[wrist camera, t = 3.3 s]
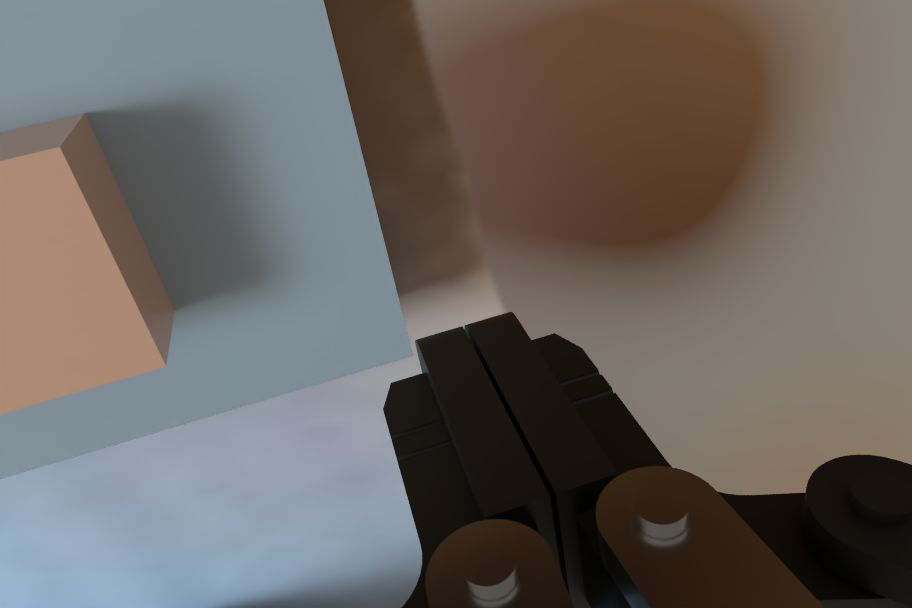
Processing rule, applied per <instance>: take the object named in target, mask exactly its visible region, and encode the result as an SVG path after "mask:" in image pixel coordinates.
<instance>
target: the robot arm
mask: <svg viewBox="0 0 912 608" xmlns="http://www.w3.org/2000/svg"><path fill="white" fill-rule="evenodd" d="M415 343H416V348H417V352H418V357H419V361H420V365H421V369H422V373H423V374H419V375H416V376H413V377H409V378H406V379H403V380H399V381H396V382H393V383H391V385H390V388H389V392H388V395H387V398H386V402H385V405H384V408H383V410H384V414H385V418H386V421H387V425H388V428H389V432H390V436H391V439H392V443H393V446H394V450H395V454H396V457H397V461H398V464H399V468H400V472H401V475H402V479H403V482H404V486H405V490H406V493H407V497H408V500H409V504H410V508H411V511H412V515H413V518H414V522H415V525H416V529H417V533H418V536H419V540H420V543H421V549H422V568H421V574H420V577H419V580H418V582H417V585H416V587H415V589H414V591H413V593H412V595H411V596H410V597H409V599H408V600H407V602H406V603H405V604H404V606H403V607H402V608H912V465H911V464H908V463H904V462H901V461H897V460H894V459H890V458H885V457H880V456H872V455H849V456H843V457H839V458H835V459H833V460H830V461H828V462H826V463H824V464H822V465H821V466H819V467H818V468H817V469H816V470H815V471H814V472H813V473H812V475H811V477H810V478H809V480H808V484H807V487H806V493H790V494H769V495H732V494H725V493H721V492H717V491H716V490H715V489H714V488H713V487H712V486H710V485H709V483H707V482H706V481H704V480H703V479H701V478H700V477H698V476H696V475H693V474H692V473H689V472H687V471H684V470H681V469H677V468H672V467H671V465H670V464H669V463H668V462H667V461H666V460H665V458H664V457H663V456H662V454H661V453H660V452H659V450H658V449H657V448H656V446H655V445H654V444H653V442H652V441H651V440H650V438H649V437H648V436H647V434H646V433H645V432H644V430H643V429H642V428H641V426H640V425H639V424H638V422H637V421H636V420H635V418H634V417H633V416H632V414H631V413H630V412H629V411H628V409H627V408H626V406H625V405H624V404H623V402H622V401H621V400H620V398H619V397H618V396H617V394H616V393H613V391H612V388H611V386H610V385H609V384H608V382H607V381H606V380H605V378H604V377H603V376H602V375H600V374H599V371H598V369H597V368H596V366H595V365H594V364H593V362H592V361H591V360H590V359H589V357H588V356H587V354H586V353H585V352H584V351H583V349H582V348H580V347H579V346H577V345H575V344H573V343H571V342H570V341H568V340H566V339H564V338H562V337H560V336H559V335H557V334H555V333H554V334H551V335H548V336H545V337H541V338H538V339H534V340H531V339H530V338H529V336H528V335H527V333H526V331H525V330H524V328H523V327H522V325H521V324H520V322H519V321H518V319H517V318H516V316H515V315H514V313H512V312H508V313H505V314H502V315H498V316H495V317H491V318H488V319H485V320H481V321H478V322H475V323H471V324H468V325H465V330H464V328H463V327H458V328H455V329H452V330H448V331H445V332H441V333H438V334H435V335H431V336H428V337H424V338H421V339H418V340H415Z"/></svg>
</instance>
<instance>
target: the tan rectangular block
mask: <svg viewBox="0 0 912 608" xmlns="http://www.w3.org/2000/svg"><path fill="white" fill-rule="evenodd" d="M174 314H175V310H174V308H173V305H172V303H171V301H170V299H169V297H168V294H167V292H166V290H165V288H164V285H163V283H162V281H161V279H160V277H159V274H158V272H157V270H156V268H155V266H154V263H153V261H152V259H151V257H150V255H149V252H148V250H147V248H146V246H145V244H144V241H143V239H142V237H141V235H140V233H139V230H138V228H137V226H136V224H135V221H134V219H133V217H132V215H131V213H130V210H129V208H128V206H127V204H126V202H125V199H124V197H123V195H122V193H121V191H120V188H119V186H118V184H117V182H116V180H115V177H114V175H113V173H112V171H111V169H110V166H109V164H108V162H107V160H106V157H105V155H104V153H103V151H102V149H101V146H100V144H99V142H98V140H97V138H96V135H95V133H94V131H93V129H92V127H91V124H90V122H89V120H88V118H87V116H86V113H81V114H77V115H73V116H68V117H64V118H60V119H56V120H51V121H47V122H43V123H39V124H34V125H30V126H26V127H22V128H18V129H13V130H9V131H5V132H1V133H0V414H2V413H6V412H9V411H13V410H16V409H20V408H23V407H27V406H30V405H33V404H37V403H40V402H44V401H47V400H51V399H54V398H58V397H61V396H65V395H68V394H72V393H75V392H79V391H82V390H86V389H89V388H93V387H96V386H100V385H103V384H107V383H110V382H114V381H117V380H120V379H124V378H127V377H131V376H134V375H138V374H141V373H145V372H148V371H152V370H155V369H159V368H162V367H166V364H167V358H168V352H169V345H170V339H171V333H172V326H173V320H174Z"/></svg>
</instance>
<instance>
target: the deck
mask: <svg viewBox="0 0 912 608" xmlns="http://www.w3.org/2000/svg"><path fill="white" fill-rule="evenodd" d="M81 113H86V116H87V118H88V120H89V122H90V124H91V127H92V129H93V131H94V133H95V135H96V138H97V140H98V142H99V144H100V146H101V149H102V151H103V153H104V155H105V157H106V160H107V162H108V164H109V166H110V169H111V171H112V173H113V175H114V177H115V180H116V182H117V184H118V186H119V188H120V191H121V193H122V195H123V197H124V199H125V202H126V204H127V206H128V208H129V210H130V213H131V215H132V217H133V219H134V221H135V224H136V226H137V228H138V230H139V233H140V235H141V237H142V239H143V241H144V244H145V246H146V248H147V250H148V252H149V255H150V257H151V259H152V261H153V263H154V266H155V268H156V270H157V272H158V274H159V277H160V279H161V281H162V283H163V285H164V288H165V290H166V292H167V294H168V297H169V299H170V301H171V303H172V305H173V308H174V310H175V314H174V320H173V326H172V333H171V339H170V345H169V352H168V358H167V364H166V367H162V368H159V369H155V370H152V371H148V372H145V373H141V374H138V375H134V376H131V377H127V378H124V379H120V380H117V381H114V382H110V383H107V384H103V385H100V386H96V387H93V388H89V389H86V390H82V391H79V392H75V393H72V394H68V395H65V396H61V397H58V398H54V399H51V400H47V401H44V402H40V403H37V404H33V405H30V406H27V407H23V408H20V409H16V410H13V411H9V412H6V413H2V414H0V479H2V478H5V477H9V476H12V475H16V474H19V473H22V472H26V471H29V470H32V469H36V468H39V467H42V466H46V465H49V464H52V463H56V462H59V461H62V460H66V459H69V458H72V457H76V456H79V455H82V454H86V453H89V452H92V451H96V450H99V449H102V448H106V447H109V446H112V445H116V444H119V443H122V442H126V441H129V440H133V439H136V438H139V437H143V436H146V435H149V434H153V433H156V432H159V431H163V430H166V429H169V428H173V427H176V426H179V425H183V424H186V423H189V422H193V421H196V420H199V419H203V418H206V417H209V416H213V415H216V414H219V413H223V412H226V411H229V410H233V409H236V408H240V407H243V406H246V405H250V404H253V403H256V402H260V401H263V400H266V399H270V398H273V397H276V396H280V395H283V394H286V393H290V392H293V391H296V390H300V389H303V388H306V387H310V386H313V385H316V384H320V383H323V382H326V381H330V380H333V379H336V378H340V377H343V376H346V375H350V374H353V373H357V372H360V371H363V370H367V369H370V368H373V367H377V366H380V365H383V364H387V363H390V362H393V361H397V360H400V359H403V358H407V357H410V356H413V353H412V349H411V345H410V341H409V337H408V333H407V329H406V325H405V321H404V317H403V313H402V309H401V306H400V302H399V298H398V294H397V290H396V286H395V282H394V278H393V274H392V270H391V266H390V262H389V258H388V254H387V250H386V246H385V242H384V238H383V234H382V230H381V226H380V222H379V218H378V214H377V210H376V206H375V202H374V198H373V194H372V191H371V187H370V183H369V179H368V175H367V171H366V167H365V163H364V159H363V155H362V151H361V147H360V143H359V139H358V135H357V131H356V127H355V123H354V119H353V115H352V111H351V107H350V103H349V99H348V95H347V91H346V87H345V83H344V80H343V76H342V72H341V68H340V64H339V60H338V56H337V52H336V48H335V44H334V40H333V36H332V32H331V28H330V24H329V20H328V16H327V12H326V8H325V4H324V0H0V133H1V132H5V131H9V130H13V129H18V128H22V127H26V126H30V125H34V124H39V123H43V122H47V121H51V120H56V119H60V118H64V117H68V116H73V115H77V114H81Z"/></svg>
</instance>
